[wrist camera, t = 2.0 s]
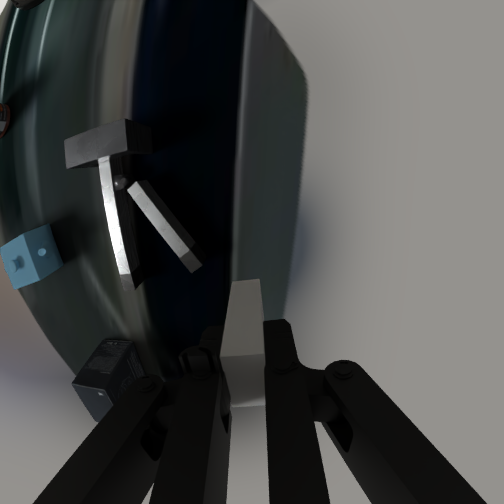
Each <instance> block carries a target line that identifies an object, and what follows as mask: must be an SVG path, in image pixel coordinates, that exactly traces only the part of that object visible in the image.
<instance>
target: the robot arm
mask: <svg viewBox="0 0 504 504" xmlns="http://www.w3.org/2000/svg"><path fill="white" fill-rule="evenodd" d="M11 1H12V2H13V4H14V5H15V6H16V7H17V8H19V9H21V10H28V9H31V8H33V7H35V6H36V5H38V4H39V3H41V2H42V1H44V0H11ZM178 357H179V360H180V363H181V366H182V369H183V372H184V376H183V377H182V378H180V379H177V380H174V381H169V382H163V380H162V379H161V378H160V377H158V376H156V375H144V376H141V377H139V378H137V379H136V380H135V381H133V382H132V383H131V385H130V386H129V387H128V388H127V389H126V391H125V392H124V393H123V394H122V395H121V397H120V398H119V399H118V400H117V401H116V403H115V404H114V405H113V406H112V407H111V409H110V410H109V411H108V412H107V413H106V415H105V416H104V417H103V418H102V419H101V421H100V422H99V423H98V424H97V425H96V427H95V428H94V429H93V430H92V432H91V433H90V434H89V435H88V437H87V438H86V439H85V440H84V441H83V442H82V444H81V445H80V446H79V447H78V449H77V450H76V451H75V452H74V454H73V455H72V456H71V457H70V458H69V459H68V461H67V462H66V463H65V464H64V466H63V467H62V468H61V469H60V471H59V472H58V473H57V474H56V475H55V477H54V478H53V479H52V480H51V482H50V483H49V484H48V485H47V487H46V488H45V489H44V490H43V492H42V493H41V494H40V495H39V496H38V498H37V499H36V500H35V502H34V503H33V504H141V503H142V502H143V500H144V498H145V496H146V495H147V493H148V491H149V490H150V488H151V486H152V485H153V483H154V485H153V489H152V494H151V497H150V502H149V504H226V498H227V481H228V467H229V451H230V437H231V421H232V416H231V411H230V400H231V404H232V407H244V406H259V405H265V406H266V427H267V451H268V476H269V502H270V504H330V499H329V494H328V489H327V484H326V478H325V473H324V468H323V463H322V458H321V453H320V448H319V443H318V438H317V433H316V428H315V423H314V421H318V422H321V423H322V425H323V427H324V428H325V430H326V432H327V433H328V435H329V437H330V438H331V440H332V441H333V443H334V445H335V446H336V448H337V450H338V451H339V453H340V454H341V456H342V458H343V459H344V461H345V463H346V464H347V466H348V467H349V469H350V471H351V472H352V474H353V475H354V477H355V478H356V480H357V482H358V483H359V485H360V486H361V488H362V489H363V491H364V492H365V494H366V495H367V497H368V499H369V500H370V502H371V503H372V504H487V503H486V502H485V501H484V500H483V499H482V498H481V497H480V496H479V494H478V493H477V492H476V491H475V490H474V489H473V488H472V487H471V486H470V485H469V483H468V482H467V481H466V480H465V479H464V478H463V477H462V476H461V475H460V474H459V473H458V471H457V470H456V469H455V468H454V467H453V466H452V465H451V464H450V463H449V462H448V461H447V460H446V458H445V457H444V456H443V455H442V454H441V453H440V452H439V451H438V450H437V449H436V448H435V447H434V445H432V443H431V442H430V441H429V440H428V439H427V438H426V437H425V436H424V435H423V434H422V432H421V431H420V430H419V429H418V428H417V427H416V426H415V425H414V424H413V423H412V422H411V420H410V419H409V418H408V417H407V416H406V415H405V414H404V413H403V412H402V411H401V410H400V408H399V407H398V406H397V405H396V404H395V403H394V402H393V401H392V400H391V399H390V398H389V397H388V395H386V393H385V392H384V391H383V390H382V389H381V388H380V387H379V386H378V385H377V384H376V383H375V381H374V380H373V379H372V378H371V377H370V376H369V375H368V374H367V373H366V372H365V371H364V370H363V368H362V367H361V366H360V365H358V364H357V363H355V362H352V361H349V360H339V361H334V362H333V363H331V364H329V365H328V366H327V367H326V368H325V370H317V369H310V368H308V367H305V366H304V365H302V364H301V363H300V361H299V359H298V356H297V351H296V347H295V343H294V339H293V334H292V330H291V325H290V324H289V323H288V322H287V321H286V320H285V319H279V320H270V321H264V315H263V306H262V297H261V288H260V279H254V280H244V281H234V282H232V286H231V292H230V298H229V304H228V310H227V316H226V322H225V325H223V326H208V327H207V329H206V330H205V331H204V332H203V333H202V336H201V341H200V343H199V345H197V346H192V347H189V348H187V349H185V350H184V351H182V352H181V353H180V355H179V356H178Z"/></svg>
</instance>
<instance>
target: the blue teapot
mask: <svg viewBox="0 0 504 504" xmlns="http://www.w3.org/2000/svg"><path fill="white" fill-rule="evenodd" d="M0 253H1V257H2V260H3V263H4V265H5V271H6V272H7V273H8V276H9V278H10V281H11V283H12V286H13V288H14V289H18V288H20V287H23V286H26V285H29V284H31V283H34V282H37V281H39V280H42V279H43V278H45V277H46V276H48V275H49V274H51V273H52V272H54V271H55V270H57V269H59V268H60V267H62V266H63V265H64V264H63V261H62V259H61V256H60V253H59V251H58V248H57V245H56V242H55V239H54V236H53V233H52V230H51V227H50V224H46V225H44V226H41V227H38V228H36V229H33V230H31V231H28V232H26V233H24V234H22V235H20V236H18V237H17V238H15V239H14V240H12V241H10V242H9V243H7V244H5V245H4V246H2V247H1V248H0Z"/></svg>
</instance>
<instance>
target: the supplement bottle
mask: <svg viewBox="0 0 504 504" xmlns="http://www.w3.org/2000/svg"><path fill="white" fill-rule="evenodd" d="M9 122H10V108H9V107H8V105H6V104H1V103H0V138H1V137H2V136H3V135H4V134H5V132H6V130H7V128H8V125H9Z"/></svg>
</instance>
